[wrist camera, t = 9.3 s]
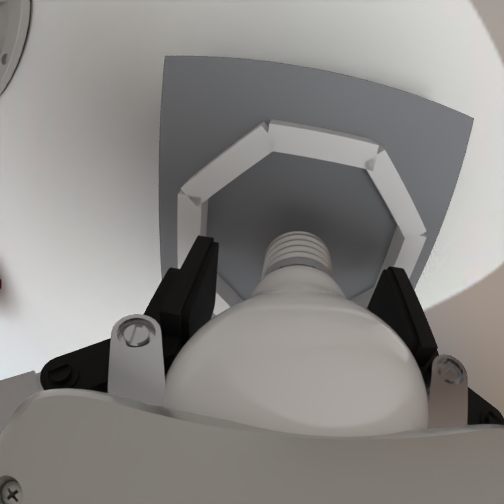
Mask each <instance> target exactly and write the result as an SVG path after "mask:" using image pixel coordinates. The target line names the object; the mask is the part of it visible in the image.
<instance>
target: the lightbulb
mask: <svg viewBox="0 0 504 504" xmlns="http://www.w3.org/2000/svg"><path fill="white" fill-rule="evenodd" d="M165 383H166V387H165V396H164V407H166V408H171V409H175V410H180V411H184V412H189V413H194V414H199V415H204V416H209V417H214V418H220V419H225V420H230V421H234V422H237V423H241V424H246V425H250V426H255V427H259V428H264V429H269V430H275V431H281V432H287V433H294V434H303V435H313V436H330V437H360V436H375V435H384V434H391V433H397V432H403V431H407V430H423V429H428V417H429V410H428V397H427V391H426V387H425V383H424V379H423V376H422V373H421V371H420V368H419V366H418V364H417V362H416V360H415V358H414V356H413V354H412V353H411V351H410V349H409V348H408V346H407V345H406V344H405V342H404V341H403V340H402V338H401V337H400V336H399V335H398V334H397V333H396V332H395V331H394V330H393V329H392V328H391V327H390V326H389V325H388V324H387V323H386V322H385V321H383V320H382V319H381V318H379V317H378V316H377V315H375V314H374V313H372V312H371V311H369V310H368V309H366V308H364V307H363V306H361V305H359V304H357V303H355V302H353V301H351V300H349V299H347V298H346V296H345V294H344V292H343V290H342V289H341V287H340V286H339V285H338V284H337V282H336V281H335V280H334V276H333V269H332V263H331V256H330V252H329V249H328V247H327V246H326V244H325V243H324V242H323V241H322V240H321V239H320V238H319V237H317V236H316V235H314V234H311V233H309V232H304V231H291V232H287V233H284V234H282V235H280V236H278V237H277V238H275V239H274V240H273V241H272V242H271V243H270V244H269V246H268V248H267V250H266V253H265V258H264V264H263V270H262V276H261V280H260V281H259V282H258V284H257V285H256V286H255V287H254V289H253V290H252V292H251V293H250V295H249V297H248V299H246V300H244V301H241V302H239V303H237V304H235V305H233V306H231V307H230V308H228V309H226V310H224V311H223V312H221V313H219V314H218V315H216V316H215V317H214V318H212V319H211V320H209V321H208V322H207V323H206V324H204V325H203V326H202V327H201V328H200V329H199V330H198V331H196V332H195V333H194V335H193V336H192V337H191V338H190V339H189V340H188V341H187V342H186V343H185V345H184V346H183V347H182V349H181V350H180V351H179V353H178V354H177V356H176V357H175V359H174V360H173V362H172V364H171V366H170V368H169V370H168V372H167V374H166V376H165Z"/></svg>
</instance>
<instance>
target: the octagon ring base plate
mask: <svg viewBox="0 0 504 504" xmlns="http://www.w3.org/2000/svg"><path fill="white" fill-rule="evenodd" d="M473 120H474V118H472V117H470V116H468V115H465V114H463V113H461V112H458V111H456V110H454V109H451V108H449V107H446V106H444V105H441V104H439V103H436V102H433V101H431V100H428V99H425V98H422V97H419V96H417V95H414V94H411V93H408V92H405V91H401V90H398V89H395V88H392V87H389V86H385V85H382V84H378V83H375V82H371V81H367V80H363V79H359V78H355V77H351V76H347V75H343V74H338V73H334V72H329V71H324V70H319V69H314V68H308V67H303V66H297V65H290V64H284V63H276V62H269V61H260V60H251V59H240V58H227V57H208V56H165V60H164V71H163V84H162V98H161V116H160V141H159V228H160V254H161V273H162V279H163V278H164V276H165V274H166V272H167V270H168V269H169V268H171V267H172V268H178V269H180V268H181V266H182V264H183V263H184V261H185V259H186V257H187V255H188V253H189V251H190V249H191V247H192V245H193V243H194V242H195V240H196V238H197V236H198V235H200V236H206V237H213V238H214V242H218V243H219V253H218V267H217V282H216V299H215V307H214V311H213V314H212V317H211V319H212V318H214V317H215V316H216V315H218V314H219V313H221V312H223V311H224V310H226V309H228V308H230V307H231V306H233V305H235V304H237V303H239V302H241V301H244V300H246V299H248V297H249V295H250V293H251V292H252V290H253V289H254V287H255V286H256V285H257V284H258V282H259V281H260V280H261V276H262V270H263V264H264V258H265V253H266V250H267V248H268V246H269V244H270V243H271V242H272V241H273V240H274V239H275V238H277V237H278V236H280V235H282V234H284V233H287V232H291V231H304V232H309V233H311V234H314V235H316V236H317V237H319V238H320V239H321V240H322V241H323V242H324V243H325V244H326V246H327V247H328V249H329V252H330V256H331V263H332V269H333V276H334V280H335V281H336V282H337V284H338V285H339V286H340V287H341V289H342V290H343V292H344V294H345V296H346V298H347V299H349V300H351V301H353V302H355V303H357V304H359V305H361V306H363V307H364V308H366V309H367V306H368V304H369V302H370V300H371V297H372V295H373V293H374V290H375V288H376V285H377V283H378V281H379V278H380V276H381V273H382V271H383V270H384V269H386V270H387V268H388V267H389V266H392V267H398V268H403V269H404V270H405V272H406V274H407V276H408V278H409V280H410V282H411V284H412V287H413V289H415V287H416V284H417V282H418V280H419V278H420V276H421V274H422V271H423V269H424V267H425V265H426V262H427V260H428V258H429V256H430V253H431V251H432V248H433V246H434V244H435V241H436V239H437V236H438V234H439V231H440V228H441V226H442V223H443V221H444V218H445V215H446V212H447V210H448V207H449V204H450V201H451V198H452V195H453V192H454V189H455V186H456V183H457V180H458V177H459V173H460V170H461V167H462V163H463V160H464V156H465V153H466V149H467V145H468V141H469V137H470V133H471V129H472V125H473Z"/></svg>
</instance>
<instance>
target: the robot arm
mask: <svg viewBox="0 0 504 504" xmlns="http://www.w3.org/2000/svg"><path fill="white" fill-rule="evenodd" d="M29 14H30V0H0V94H1V93H2V91H3V90H4V88H5V87H6V85H7V83H8V82H9V80H10V78H11V76H12V74H13V72H14V70H15V68H16V66H17V63H18V60H19V57H20V55H21V52H22V49H23V45H24V42H25V38H26V34H27V29H28V23H29ZM218 253H219V243H218V242H214V238H213V237H206V236H200V235H198V236H197V238H196V240H195V242H194V243H193V245H192V247H191V249H190V251H189V253H188V255H187V257H186V259H185V261H184V263H183V264H182V266H181V268H180V269H178V268H172V267H171V268H169V269H168V270H167V272H166V274H165V276H164V278H163V279H162V281H161V283H160V285H159V287H158V288H157V290H156V292H155V294H154V296H153V298H152V299H151V301H150V303H149V305H148V307H147V309H146V311H145V313H144V314H143V315H141V314H134V315H128V316H126V317H123V318H122V319H120V320H119V321H117V322H116V324H115V325H114V326H113V329H112V332H111V338H110V339H107V340H104V341H102V342H99V343H96V344H93V345H90V346H88V347H85V348H82V349H79V350H76V351H73V352H71V353H68V354H65V355H62V356H59V357H56V358H54V359H52V360H50V361H49V362H48V363H47V364H45V366H44V367H43V369H42V370H41V372H40V373H37V374H36V373H35V371H31V372H27V373H24V374H21V375H17V376H14V377H11V378H7V379H4V380H0V504H504V418H503V416H502V415H501V413H500V412H499V411H498V410H497V409H496V408H495V407H493V406H492V405H491V404H489V403H488V402H487V401H486V400H484V399H483V398H482V397H480V396H479V395H478V394H476V393H475V392H474V391H473V390H471V389H470V388H469V387H468V377H467V372H466V369H465V367H464V366H463V365H462V363H461V362H460V361H459V360H457V359H456V358H454V357H452V356H450V355H445V354H444V355H439V354H438V351H437V348H438V347H437V344H436V342H435V339H434V337H433V334H432V332H431V329H430V326H429V324H428V322H427V319H426V317H425V314H424V312H423V309H422V307H421V305H420V302H419V300H418V298H417V296H416V293H415V291H414V289H413V287H412V284H411V282H410V280H409V278H408V276H407V274H406V272H405V270H404V269H403V268H398V267H392V266H389V267H388V268H387V270H386V269H384V270H383V271H382V273H381V276H380V278H379V281H378V283H377V285H376V288H375V290H374V293H373V295H372V297H371V300H370V302H369V304H368V306H367V309H368V310H369V311H371V312H372V313H374V314H375V315H377V316H378V317H379V318H381V319H382V320H383V321H385V322H386V323H387V324H388V325H389V326H390V327H391V328H392V329H393V330H394V331H395V332H396V333H397V334H398V335H399V336H400V337H401V338H402V340H403V341H404V342H405V344H406V345H407V346H408V348H409V349H410V351H411V353H412V354H413V356H414V358H415V360H416V362H417V364H418V366H419V368H420V371H421V373H422V376H423V379H424V383H425V387H426V391H427V397H428V410H429V417H428V429H423V430H407V431H403V432H397V433H391V434H384V435H375V436H360V437H330V436H313V435H303V434H294V433H287V432H281V431H275V430H269V429H264V428H259V427H255V426H250V425H246V424H241V423H237V422H234V421H230V420H225V419H220V418H214V417H209V416H204V415H199V414H194V413H189V412H184V411H180V410H175V409H171V408H166V407H164V396H165V387H166V383H165V376H166V374H167V372H168V370H169V368H170V366H171V364H172V362H173V360H174V359H175V357H176V356H177V354H178V353H179V351H180V350H181V349H182V347H183V346H184V345H185V343H186V342H187V341H188V340H189V339H190V338H191V337H192V336H193V335H194V333H195V332H196V331H198V330H199V329H200V328H201V327H202V326H203V325H204V324H206V323H207V322H208V321H209V320H211V317H212V314H213V311H214V307H215V299H216V282H217V267H218Z"/></svg>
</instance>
